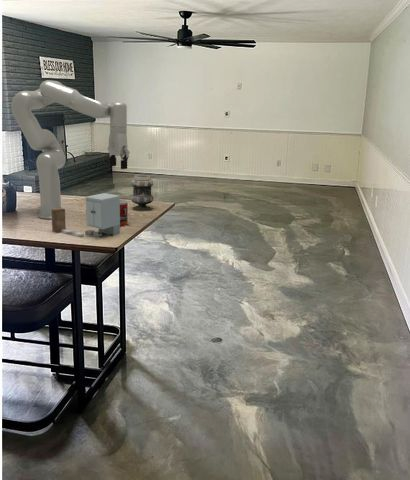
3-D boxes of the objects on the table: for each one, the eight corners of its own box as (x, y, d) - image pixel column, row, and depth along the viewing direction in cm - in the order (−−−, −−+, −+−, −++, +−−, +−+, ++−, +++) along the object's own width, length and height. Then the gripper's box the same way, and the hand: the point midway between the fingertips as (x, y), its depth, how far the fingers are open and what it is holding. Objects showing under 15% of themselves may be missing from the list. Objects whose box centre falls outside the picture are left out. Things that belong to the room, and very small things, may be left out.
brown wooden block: (52, 231, 214) (51, 209, 211) (59, 229, 217) (58, 207, 215) (78, 237, 206) (77, 214, 203) (85, 235, 209) (84, 213, 207)
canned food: (120, 227, 225) (120, 203, 222) (107, 224, 229) (106, 201, 226) (131, 224, 231) (131, 201, 228) (118, 221, 235) (118, 198, 232)
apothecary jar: (154, 206, 268) (154, 174, 263) (152, 211, 257) (152, 178, 252) (132, 206, 268) (132, 173, 263) (129, 211, 256) (129, 177, 251)
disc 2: (90, 236, 209) (90, 233, 209) (97, 234, 212) (97, 231, 212) (97, 238, 207) (97, 234, 207) (104, 236, 210) (104, 232, 210)
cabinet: (85, 235, 210) (84, 197, 205) (105, 229, 220) (104, 192, 215) (101, 239, 206) (100, 200, 201) (120, 232, 216) (119, 195, 211)
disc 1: (83, 235, 211) (83, 231, 211) (90, 233, 214) (89, 229, 214) (90, 236, 209) (90, 233, 209) (96, 234, 212) (96, 231, 212)
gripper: (101, 128, 228) (102, 165, 233) (121, 132, 215) (121, 170, 220) (115, 128, 232) (115, 164, 237) (135, 131, 220) (135, 169, 225)
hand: (118, 167), depth 229 cm, fingers open, 9 cm apart
